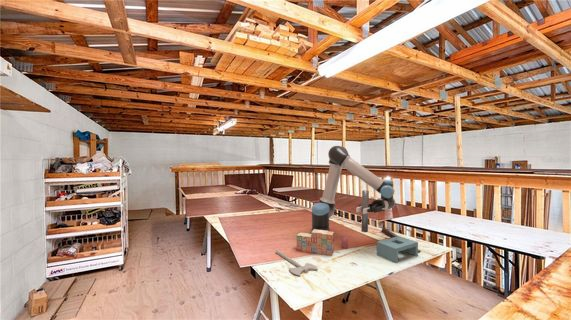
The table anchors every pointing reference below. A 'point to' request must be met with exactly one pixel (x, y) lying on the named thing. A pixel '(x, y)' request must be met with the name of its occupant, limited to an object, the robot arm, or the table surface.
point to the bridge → (396, 247)
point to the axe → (300, 268)
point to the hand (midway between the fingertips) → (360, 210)
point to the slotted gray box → (391, 234)
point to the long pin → (364, 205)
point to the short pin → (344, 242)
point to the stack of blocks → (316, 242)
